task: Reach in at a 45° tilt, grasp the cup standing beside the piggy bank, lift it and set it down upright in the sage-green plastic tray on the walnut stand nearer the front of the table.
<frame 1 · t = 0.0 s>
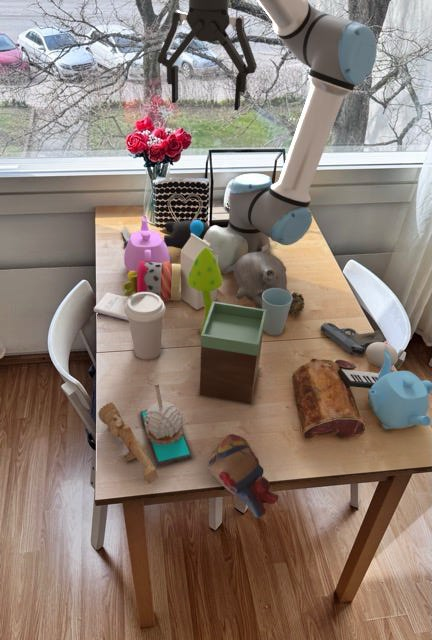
hand: (205, 104, 117), 51 cm above the table, tool pointing down, fingers open, 13 cm apart
smartphone: (165, 435, 117), on the table, touching decorative ornament
cup: (272, 329, 145), on the table
cake: (180, 282, 149), point 5 cm above the table
planter: (242, 258, 158), point 6 cm above the table
decorative ornament: (165, 433, 117), resting on smartphone
anatomical model: (219, 444, 108), point 7 cm above the table
stand: (229, 382, 130), on the table
knife: (121, 242, 171), point 1 cm above the table
hard drive: (143, 312, 146), point 1 cm above the table
cured meat: (328, 397, 127), on the table, touching midi keyboard
midi keyboard: (364, 372, 128), point 4 cm above the table, touching cured meat
milk carton: (198, 300, 152), on the table
figurine: (154, 477, 105), point 4 cm above the table
piggy bank: (256, 295, 155), on the table
teapot: (147, 267, 163), on the table
teapot 2: (388, 415, 124), on the table
toy: (164, 234, 166), point 6 cm above the table
coffee cup: (147, 351, 136), on the table
pendant: (301, 309, 150), point 1 cm above the table
mushroom: (203, 332, 142), on the table
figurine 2: (385, 342, 132), point 7 cm above the table
tray: (233, 333, 119), resting on stand
handgun: (370, 326, 145), point 1 cm above the table
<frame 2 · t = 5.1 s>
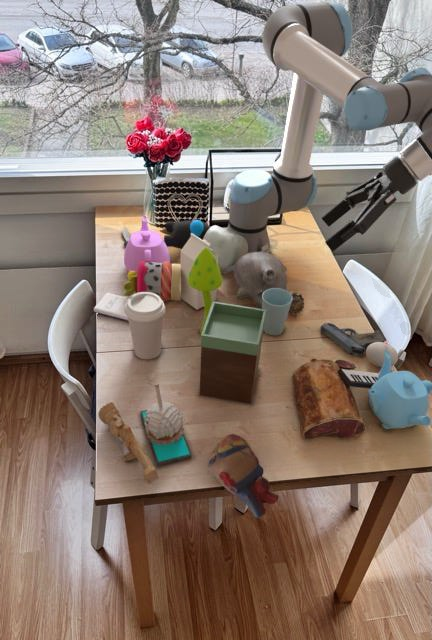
hand: (326, 234, 125), 28 cm above the table, tool tilted 40°, fingers open, 13 cm apart
nothing on the table moved.
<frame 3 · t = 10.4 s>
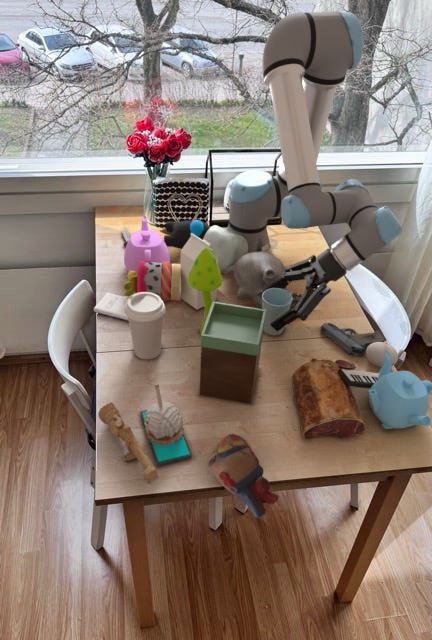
hand: (269, 311, 140), 6 cm above the table, tool tilted 45°, fingers open, 13 cm apart
piggy bank: (256, 295, 155), on the table, touching gripper
everything else where it was.
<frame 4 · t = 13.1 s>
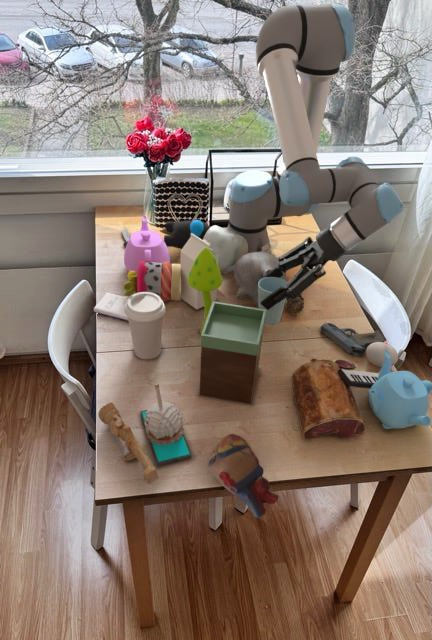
hand: (262, 295, 137), 11 cm above the table, tool tilted 45°, fingers closed on cup, 8 cm apart
cup: (269, 320, 141), point 4 cm above the table, touching gripper
piggy bank: (256, 295, 155), on the table
everything else where it was.
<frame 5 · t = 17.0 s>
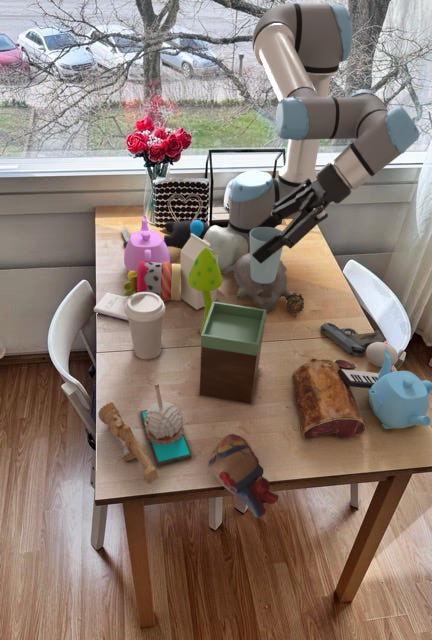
hand: (254, 248, 118), 29 cm above the table, tool tilted 45°, fingers closed on cup, 8 cm apart
cup: (262, 278, 123), point 22 cm above the table, touching gripper
everything else where it was.
when the fingers open (22 cm above the table, at t = 21.1 s): cup stays where it is, resting on tray.
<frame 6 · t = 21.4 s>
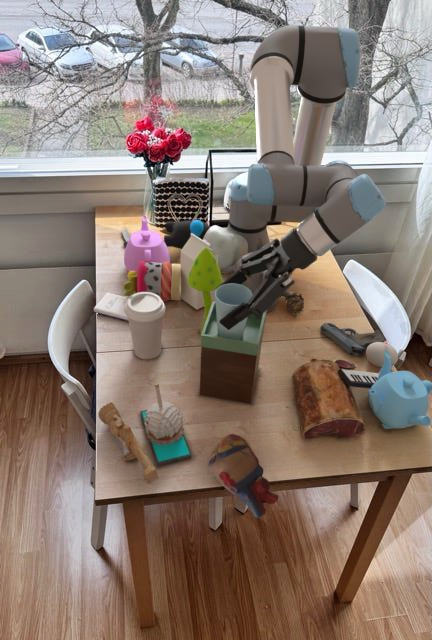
hand: (222, 308, 114), 22 cm above the table, tool tilted 45°, fingers open, 10 cm apart
cup: (230, 334, 118), point 15 cm above the table, touching tray
everything else where it was.
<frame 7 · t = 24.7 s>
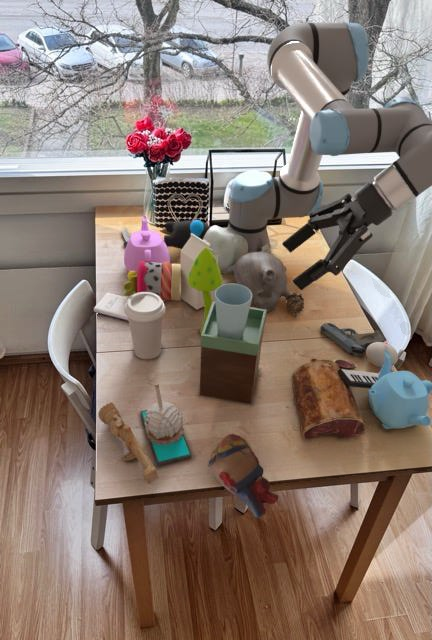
hand: (291, 266, 110), 31 cm above the table, tool tilted 45°, fingers open, 13 cm apart
nothing on the table moved.
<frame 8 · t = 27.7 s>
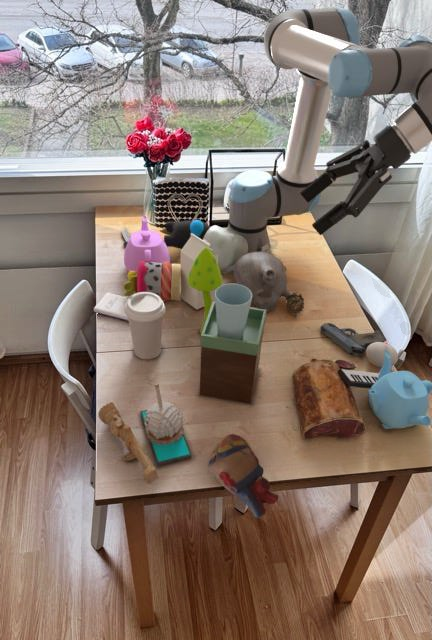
hand: (309, 213, 112), 38 cm above the table, tool tilted 45°, fingers open, 13 cm apart
nothing on the table moved.
at the end: cup inside the target area on the tray (1.3 cm from its centre), point 0.4 cm above the tray's base; cup tilted 1°; the gripper is holding nothing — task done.
